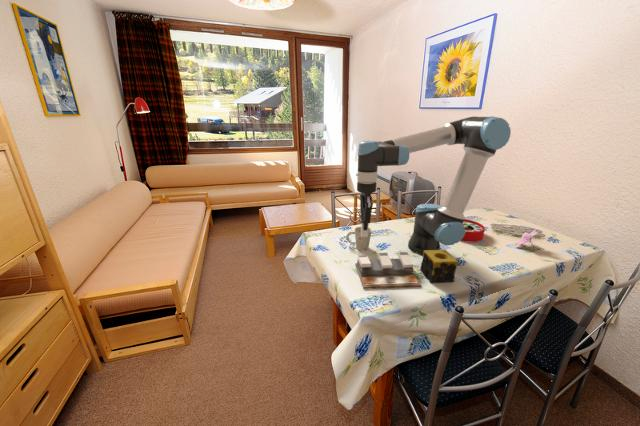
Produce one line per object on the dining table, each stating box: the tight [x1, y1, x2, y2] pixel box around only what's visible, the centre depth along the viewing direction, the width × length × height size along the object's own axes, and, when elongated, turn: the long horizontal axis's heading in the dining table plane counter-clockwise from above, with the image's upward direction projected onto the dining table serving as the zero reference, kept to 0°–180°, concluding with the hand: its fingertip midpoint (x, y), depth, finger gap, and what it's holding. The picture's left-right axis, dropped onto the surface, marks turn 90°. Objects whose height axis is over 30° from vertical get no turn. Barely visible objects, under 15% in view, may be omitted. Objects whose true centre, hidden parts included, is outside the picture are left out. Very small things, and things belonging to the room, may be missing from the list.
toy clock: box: [459, 218, 486, 243], centre depth 155 cm, size 20×6×20 cm
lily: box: [515, 229, 539, 249], centre depth 139 cm, size 12×12×10 cm
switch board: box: [354, 258, 422, 290], centre depth 116 cm, size 23×18×4 cm
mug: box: [345, 226, 373, 252], centre depth 139 cm, size 8×13×10 cm, turn 78°
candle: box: [419, 249, 458, 284], centre depth 114 cm, size 10×10×10 cm
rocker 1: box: [357, 254, 371, 267], centre depth 117 cm, size 4×8×2 cm, turn 3°
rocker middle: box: [377, 252, 392, 268], centre depth 118 cm, size 4×8×2 cm, turn 3°
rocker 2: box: [397, 251, 415, 268], centre depth 118 cm, size 4×8×2 cm, turn 3°
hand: (364, 236), depth 116 cm, fingers closed
